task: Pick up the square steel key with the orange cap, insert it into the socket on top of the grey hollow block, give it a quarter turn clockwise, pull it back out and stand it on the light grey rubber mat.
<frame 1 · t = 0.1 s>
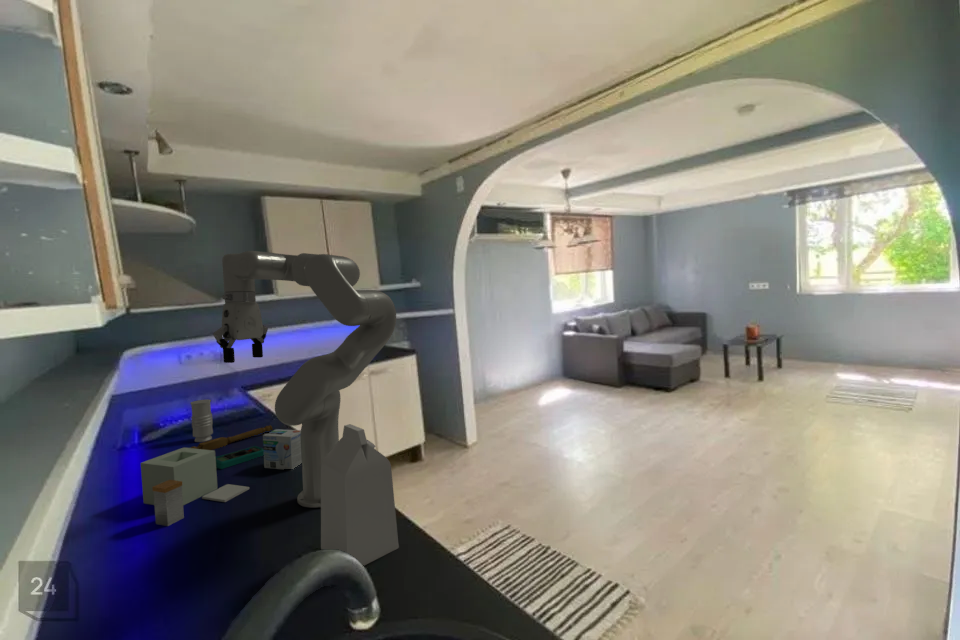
hand: (244, 359, 120), 37 cm above the countertop, tool pointing down, fingers open, 9 cm apart
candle: (203, 439, 168), on the countertop
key: (170, 520, 105), on the countertop
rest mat: (226, 493, 119), on the countertop
light bulb box: (285, 465, 139), on the countertop
milk: (359, 549, 91), on the countertop
grey hollow block: (181, 495, 119), on the countertop
digital multimeter: (239, 462, 145), on the countertop
tap handle: (233, 443, 163), on the countertop
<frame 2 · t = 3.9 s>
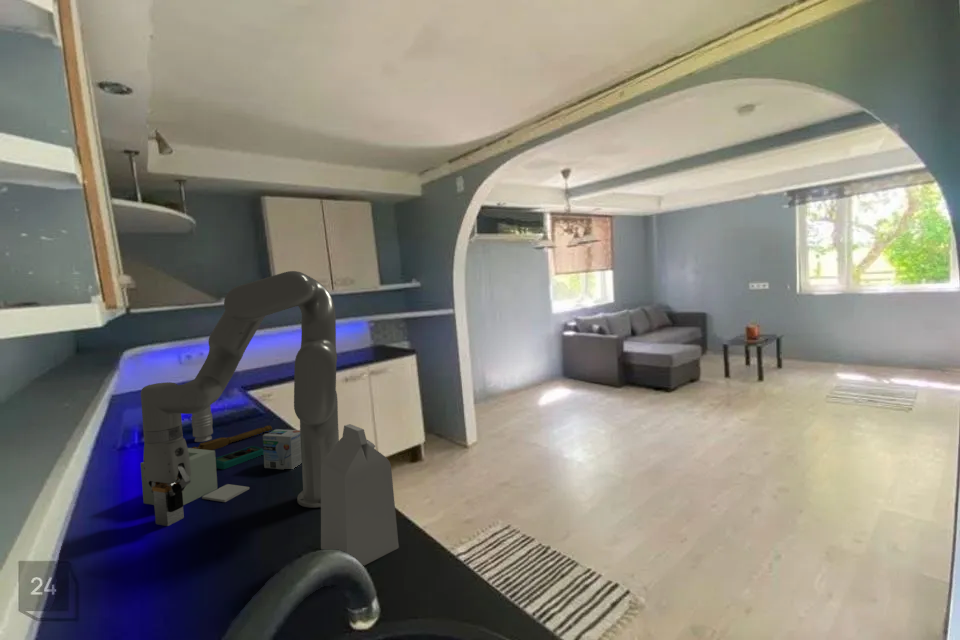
hand: (169, 507, 105), 3 cm above the countertop, tool pointing down, fingers closed on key, 4 cm apart
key: (170, 520, 105), on the countertop, touching gripper
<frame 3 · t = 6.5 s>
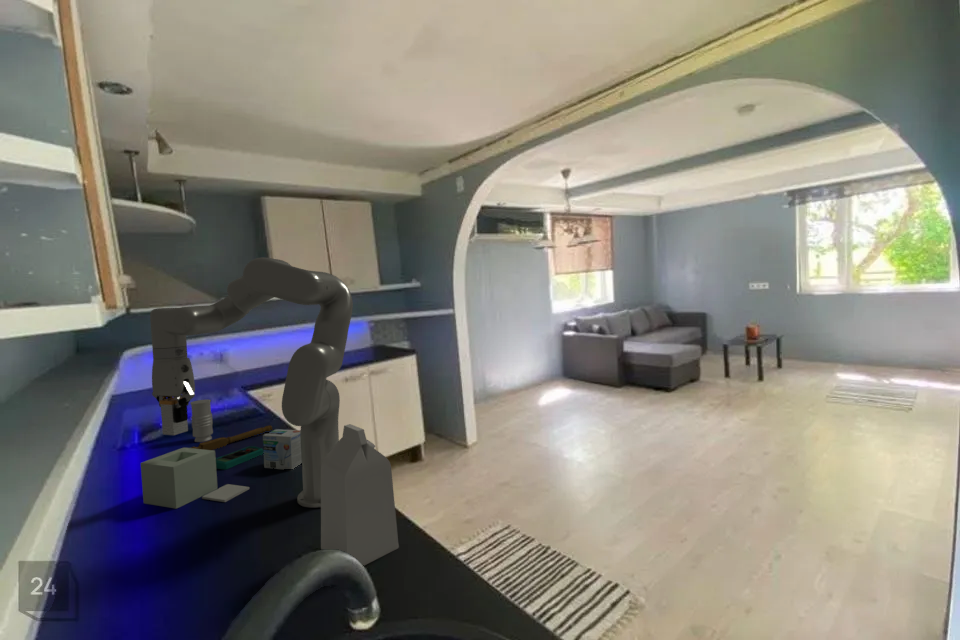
hand: (174, 420, 116), 21 cm above the countertop, tool pointing down, fingers closed on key, 4 cm apart
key: (175, 432, 117), point 18 cm above the countertop, touching gripper
everything else where it was.
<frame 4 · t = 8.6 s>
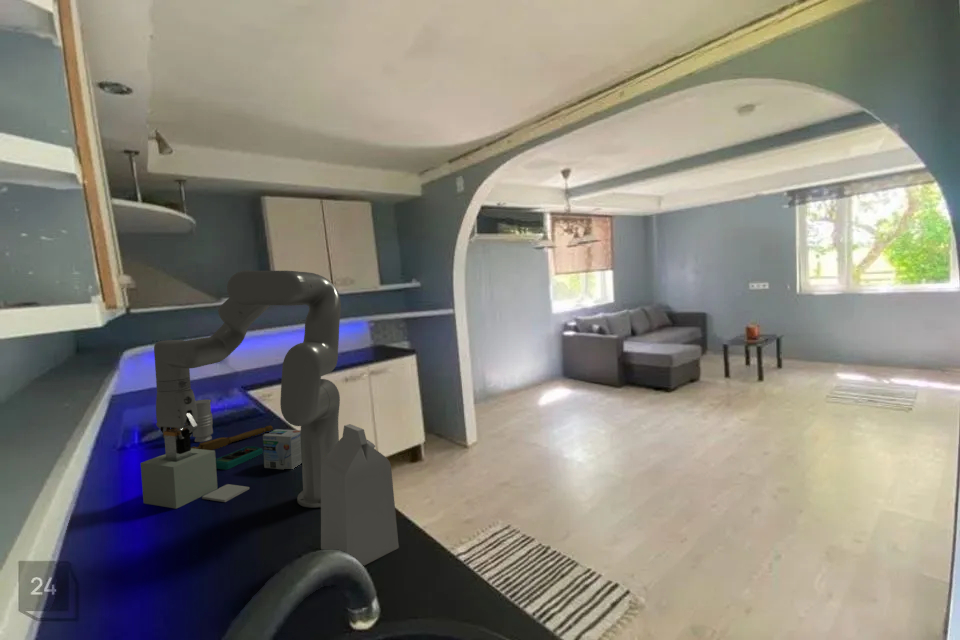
hand: (178, 450, 118), 13 cm above the countertop, tool pointing down, fingers closed on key, 4 cm apart
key: (178, 462, 118), point 9 cm above the countertop, touching gripper
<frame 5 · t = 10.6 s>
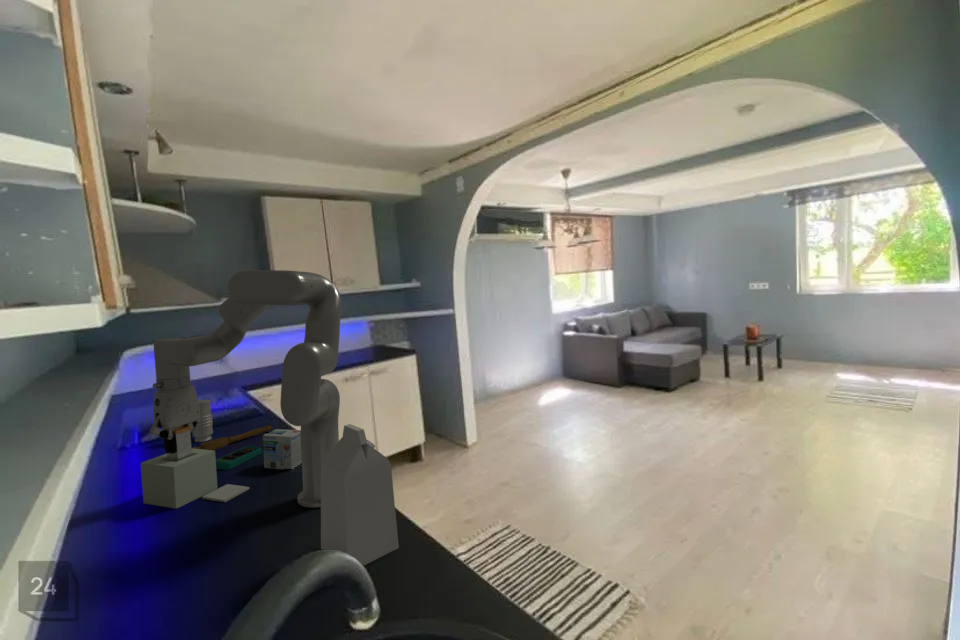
hand: (179, 449, 118), 13 cm above the countertop, tool pointing down, fingers closed on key, 4 cm apart
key: (180, 461, 118), point 10 cm above the countertop, touching gripper
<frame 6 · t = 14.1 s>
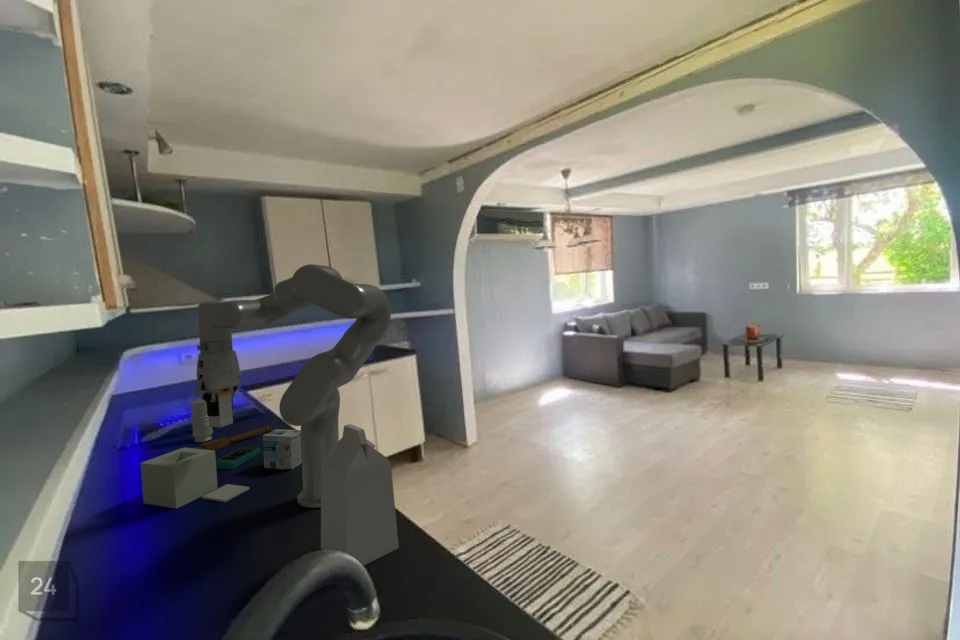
hand: (220, 413, 118), 23 cm above the countertop, tool pointing down, fingers closed on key, 4 cm apart
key: (221, 424, 118), point 19 cm above the countertop, touching gripper
when the fingers open (6 cm above the countertop, at t = 17.3 s): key drops 2 cm, resting on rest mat.
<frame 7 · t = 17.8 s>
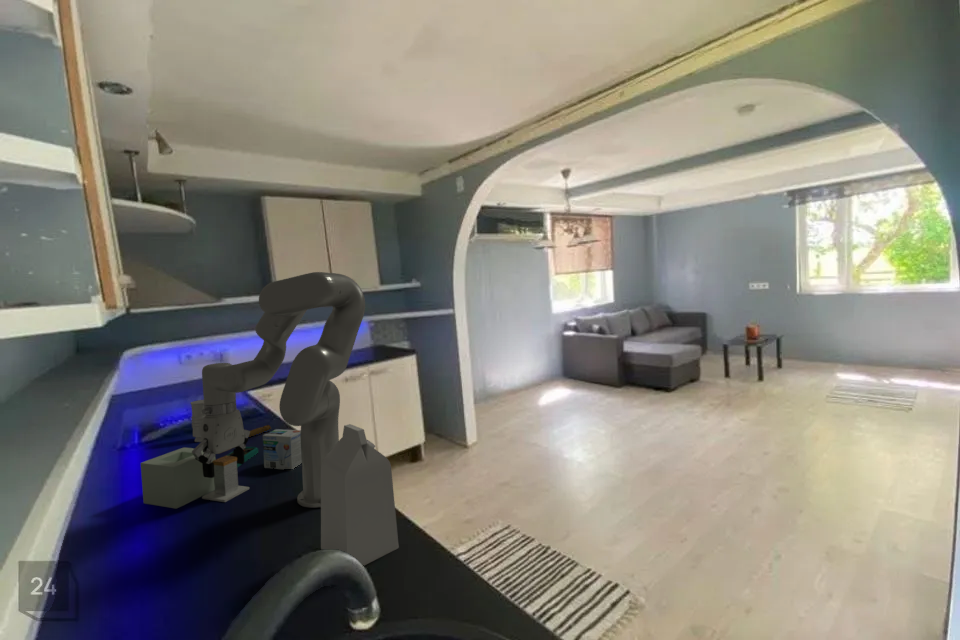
hand: (224, 469, 119), 7 cm above the countertop, tool pointing down, fingers open, 9 cm apart
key: (226, 491, 119), point 1 cm above the countertop, touching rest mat
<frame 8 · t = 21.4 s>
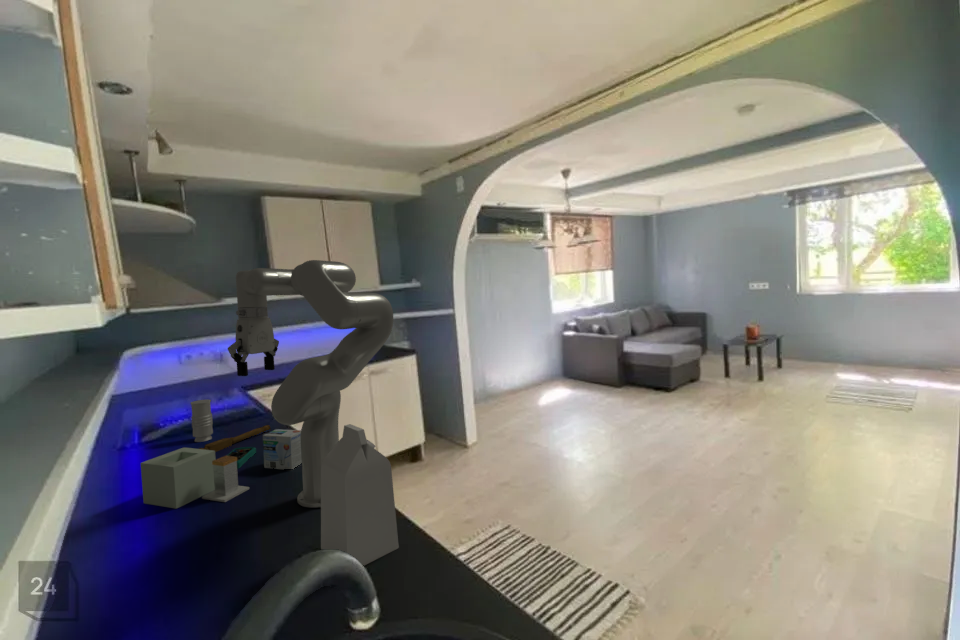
hand: (256, 372, 125), 32 cm above the countertop, tool pointing down, fingers open, 9 cm apart
at the end: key inside the target area on the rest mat (0.1 cm from its centre), point 0.6 cm above the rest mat's base; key tilted 0°; the gripper is holding nothing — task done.
